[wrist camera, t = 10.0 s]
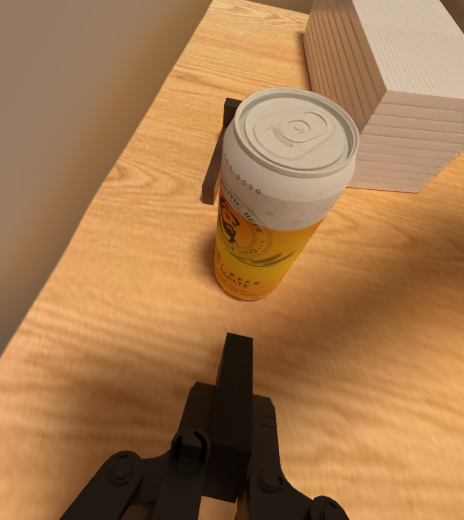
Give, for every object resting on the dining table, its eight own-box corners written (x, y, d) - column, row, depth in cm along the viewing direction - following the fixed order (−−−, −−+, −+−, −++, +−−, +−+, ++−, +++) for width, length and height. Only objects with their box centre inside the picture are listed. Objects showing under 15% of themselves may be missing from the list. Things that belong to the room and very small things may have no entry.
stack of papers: (417, 193, 31) (514, 104, 21) (328, 185, 30) (387, 89, 20) (363, 47, 45) (406, -47, 35) (302, 39, 44) (329, -58, 34)
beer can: (201, 262, 24) (195, 106, 11) (252, 232, 26) (302, 68, 13) (239, 316, 22) (291, 207, 9) (292, 279, 24) (398, 144, 11)
